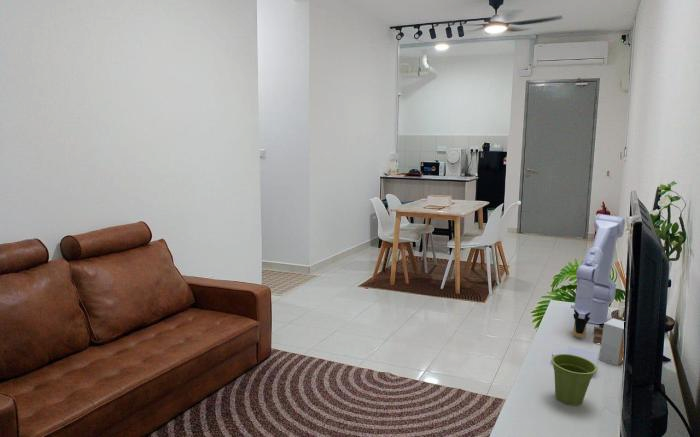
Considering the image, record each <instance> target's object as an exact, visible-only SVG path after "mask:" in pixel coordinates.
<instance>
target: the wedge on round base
mask: <svg viewBox="0 0 700 437" xmlns="http://www.w3.org/2000/svg"><path fill="white" fill-rule="evenodd" d="M557 354H571V355H576V356H580V357H583V358H585V359H587V360H589V361H591V362H593V363H594V364H595V365H596V366H597V357H598V352H597V351H595V350H589V349H585V348H580V347H576V346H571V345H568V346H567V349H559V348H558V349H554V350H552V354H551V358H552V357H553V356H554V355H557ZM550 364H551V365H553V362H552V359H551V360H550Z"/></svg>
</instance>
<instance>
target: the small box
mask: <svg viewBox="0 0 700 437" xmlns="http://www.w3.org/2000/svg"><path fill="white" fill-rule="evenodd" d="M624 322H625V321H624V320H621V319H617V318H615V317H613V318H611V319H609V320H607V322H606V323H604V325H603V327H602V328H603V334H602V340H601V344H600V348H599V352H598V353H599V354H598V360H600V361H602V362H606V363H608V364H611V365H615V366H617V365H618V366H619V365H620V364H621V363H623V362H622V358H623V333H624Z"/></svg>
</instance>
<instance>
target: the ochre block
mask: <svg viewBox="0 0 700 437" xmlns="http://www.w3.org/2000/svg"><path fill="white" fill-rule="evenodd" d="M587 323H588V322H587ZM587 323H586V325H585V328H584V331H583V333H582V334H580V333H576V324H575V323H574V325H573V333H572V337H577V338H581V339H585V336H586V329H587Z"/></svg>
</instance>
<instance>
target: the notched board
mask: <svg viewBox="0 0 700 437" xmlns="http://www.w3.org/2000/svg"><path fill="white" fill-rule="evenodd" d="M593 333H594V335H593V342H594V343H593V342H592V343H593V344H597V343H600V344H599V345H601V340H602V334H603V327H600V326H594V328H593Z"/></svg>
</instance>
